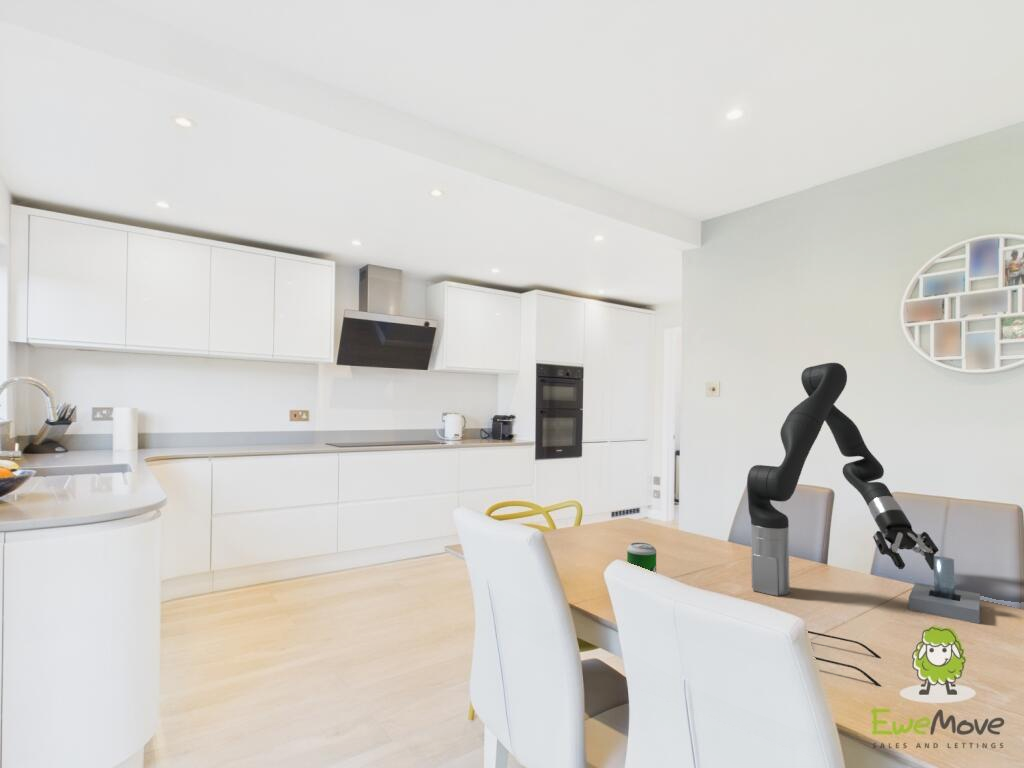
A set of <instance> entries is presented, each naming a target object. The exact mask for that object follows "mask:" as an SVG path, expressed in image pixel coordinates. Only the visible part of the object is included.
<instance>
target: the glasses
mask: <svg viewBox="0 0 1024 768" xmlns="http://www.w3.org/2000/svg"><path fill="white" fill-rule="evenodd" d="M807 631H808V633H807V634H811V635H816V636H821V637H826V638H830V639H835V640H840V641H843V642H844V641H845V642H850V643H853V644H858V645H860V646H861V647H863V648H864V649H866V650H867V651H868V652H869V653H870V654H872V655H873V656H875V658H878V659H882V657H881V656H880V655H879V654H877V653H876V652H874V651H873V650H872V649H870V647H868V646H867V645H865V644H863V643H861V642H860V641H857V640H852V639H847V638H843V637H838V636H834V635H828V634H824V633H820V632H815V631H809V630H807ZM814 657H815V658H816V659H815V660H817V661H822V662H826V663H831V664H833V665H838V666H843V667H847V668H851V669H854V670H856V671H859V672H860V673H861V674H863V675H864V676H865V677H866V678H867V679H868V680H869V681H871V682H872V683H873V684H874V685H875V686H877V687H879V688H881V687H882V685H881V683H879V682H877V681H876V680H875V679H874V678H873V677H872V676H870V675H869V674H868V673H867V672H865V671H864V670H863V669H861V668H859V667H857V666H854V665H851V664H846V663H842V662H838V661H833V660H829V659H827V658H826V659H825V658H820V657H818V656H817V657H816V656H814Z"/></svg>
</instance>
